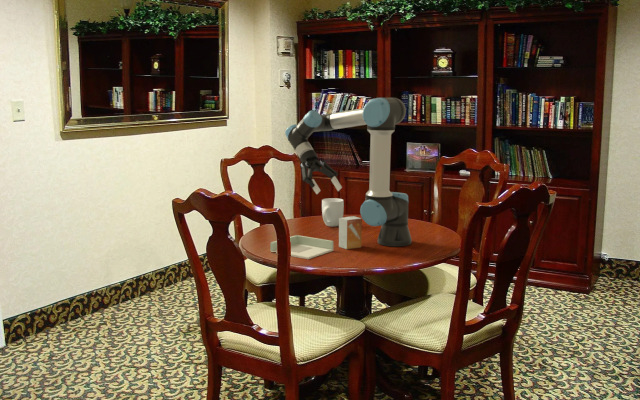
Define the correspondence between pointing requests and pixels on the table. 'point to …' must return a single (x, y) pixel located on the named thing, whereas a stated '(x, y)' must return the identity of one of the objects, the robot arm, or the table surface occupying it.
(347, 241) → the small box
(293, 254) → the tray
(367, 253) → the table surface
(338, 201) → the mug
